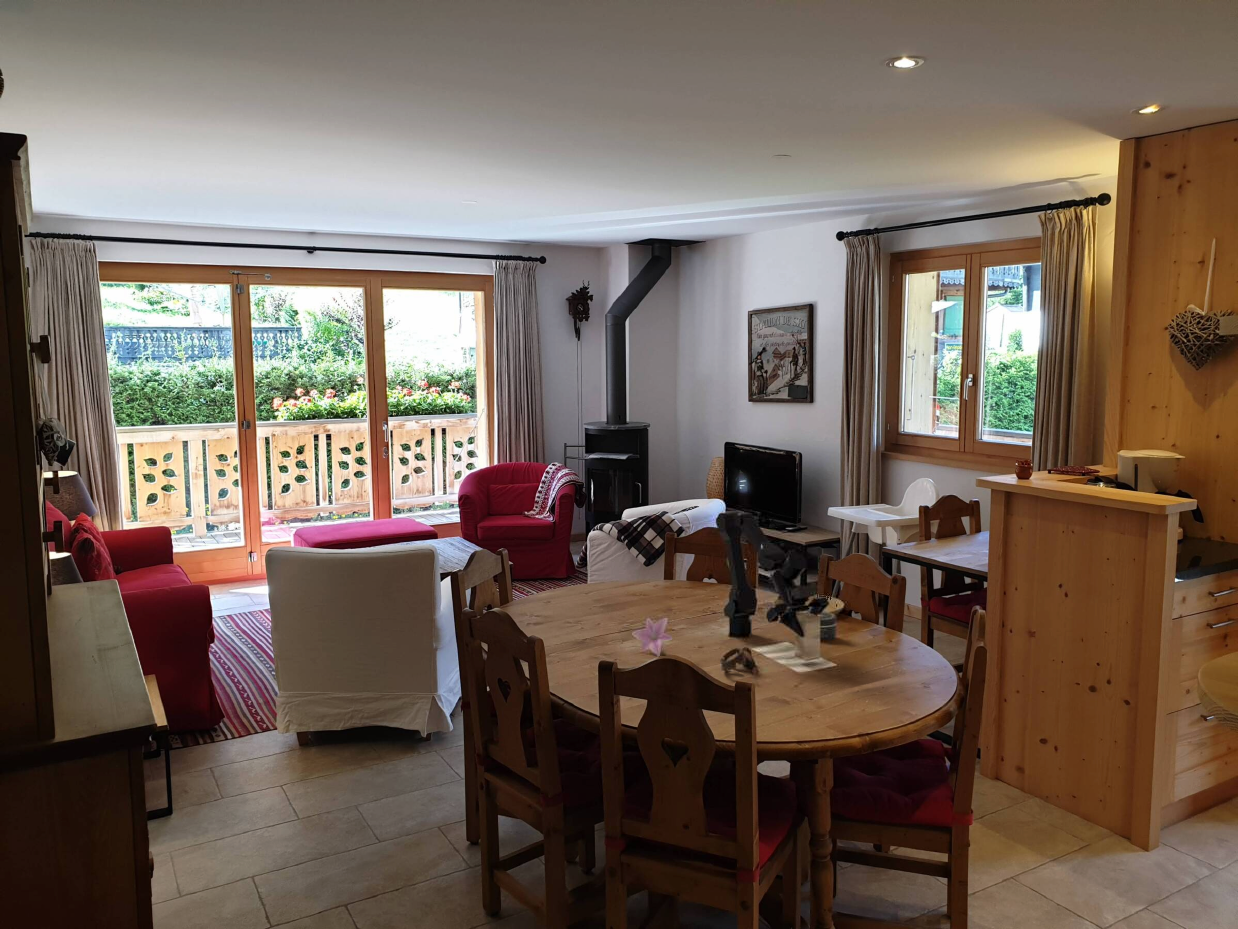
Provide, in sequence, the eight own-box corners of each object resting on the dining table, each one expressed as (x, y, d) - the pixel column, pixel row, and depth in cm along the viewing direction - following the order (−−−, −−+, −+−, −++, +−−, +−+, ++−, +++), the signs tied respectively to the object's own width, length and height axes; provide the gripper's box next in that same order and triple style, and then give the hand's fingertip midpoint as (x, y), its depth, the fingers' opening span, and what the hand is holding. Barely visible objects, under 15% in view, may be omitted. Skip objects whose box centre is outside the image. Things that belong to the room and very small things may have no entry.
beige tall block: (794, 655, 259) (795, 614, 257) (808, 653, 261) (808, 612, 259) (806, 661, 254) (806, 619, 252) (819, 658, 256) (820, 617, 254)
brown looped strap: (756, 682, 248) (741, 658, 246) (727, 692, 252) (712, 668, 251) (766, 658, 258) (751, 635, 257) (738, 668, 263) (724, 645, 261)
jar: (836, 644, 277) (837, 620, 276) (803, 643, 279) (803, 619, 278) (835, 634, 286) (836, 611, 286) (803, 633, 288) (803, 610, 288)
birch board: (750, 651, 272) (750, 648, 272) (786, 645, 277) (786, 641, 277) (799, 676, 250) (799, 672, 250) (837, 668, 256) (837, 665, 256)
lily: (629, 650, 279) (624, 628, 274) (659, 629, 284) (654, 607, 279) (654, 671, 271) (649, 649, 265) (683, 649, 276) (679, 627, 270)
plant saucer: (759, 608, 319) (759, 599, 318) (815, 599, 328) (815, 590, 328) (799, 626, 297) (799, 616, 296) (858, 616, 307) (858, 606, 306)
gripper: (772, 577, 254) (795, 625, 245) (825, 569, 262) (850, 616, 253) (756, 598, 262) (778, 645, 253) (808, 589, 270) (832, 635, 261)
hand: (810, 635), depth 255 cm, fingers closed on beige tall block, 5 cm apart
